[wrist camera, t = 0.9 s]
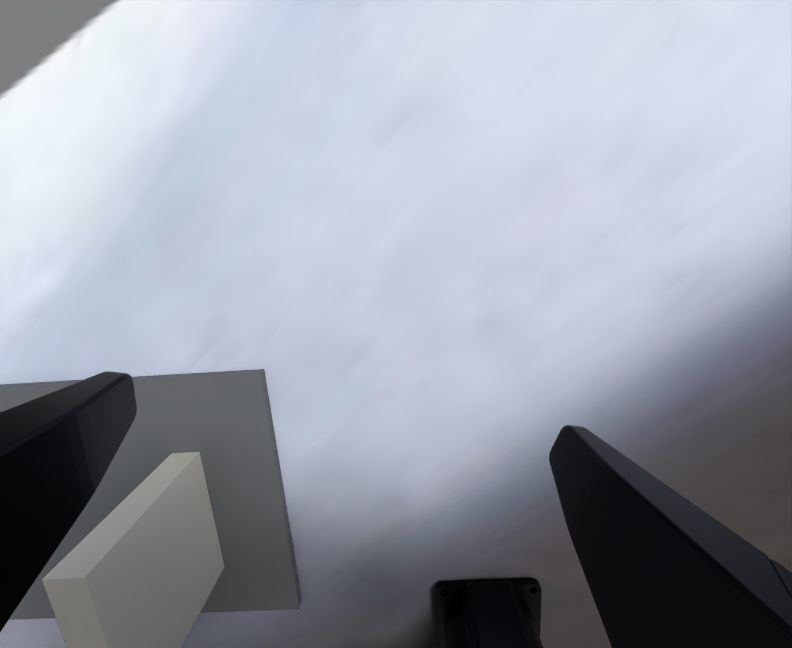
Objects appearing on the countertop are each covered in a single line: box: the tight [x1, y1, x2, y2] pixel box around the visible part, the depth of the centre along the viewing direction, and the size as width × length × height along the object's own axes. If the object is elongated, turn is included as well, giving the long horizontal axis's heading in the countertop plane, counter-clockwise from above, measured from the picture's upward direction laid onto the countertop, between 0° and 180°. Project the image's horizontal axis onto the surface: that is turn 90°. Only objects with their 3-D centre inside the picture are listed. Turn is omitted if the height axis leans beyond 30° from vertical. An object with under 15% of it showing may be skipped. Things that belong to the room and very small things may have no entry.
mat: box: [0, 369, 301, 620], centre depth 23 cm, size 16×20×1 cm
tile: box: [42, 452, 224, 648], centre depth 19 cm, size 8×2×8 cm, turn 4°
